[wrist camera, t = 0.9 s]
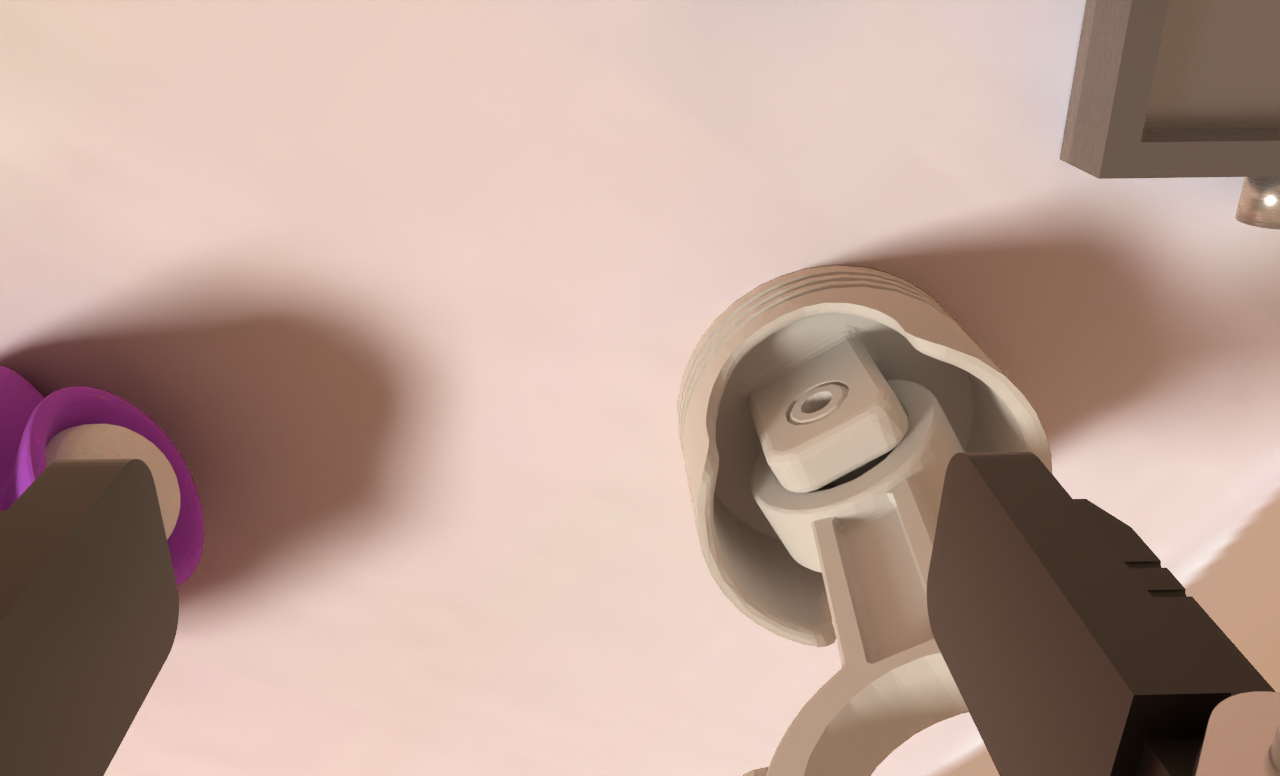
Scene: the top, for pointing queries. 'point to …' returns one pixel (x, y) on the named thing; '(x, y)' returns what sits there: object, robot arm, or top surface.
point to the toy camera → (96, 452)
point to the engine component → (841, 488)
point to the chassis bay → (1180, 95)
